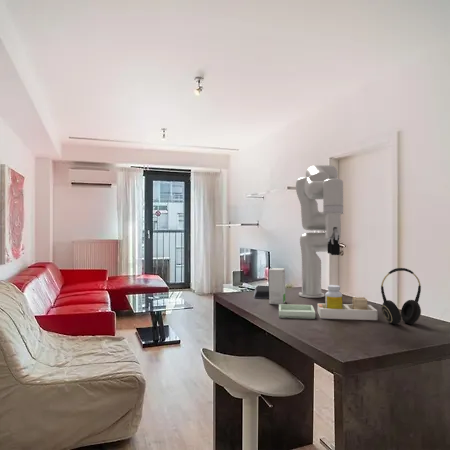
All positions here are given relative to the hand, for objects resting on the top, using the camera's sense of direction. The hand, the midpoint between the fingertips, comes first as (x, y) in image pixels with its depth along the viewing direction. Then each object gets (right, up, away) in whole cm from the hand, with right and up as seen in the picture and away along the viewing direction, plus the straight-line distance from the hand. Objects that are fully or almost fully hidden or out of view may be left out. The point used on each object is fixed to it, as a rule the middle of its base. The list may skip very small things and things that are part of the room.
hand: (333, 254), depth 144 cm
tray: (-14, -24, +2) cm, 28 cm away
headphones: (+21, -24, -12) cm, 34 cm away
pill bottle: (0, -24, 0) cm, 24 cm away
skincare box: (-19, -24, +24) cm, 39 cm away
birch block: (+10, -24, -2) cm, 26 cm away
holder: (+5, -24, -1) cm, 24 cm away
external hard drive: (-21, -25, +43) cm, 54 cm away
